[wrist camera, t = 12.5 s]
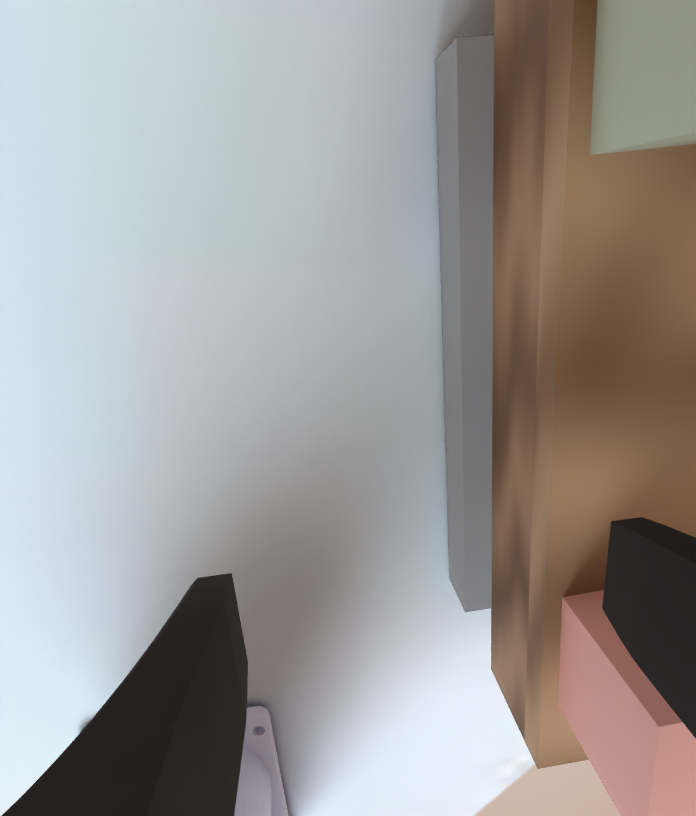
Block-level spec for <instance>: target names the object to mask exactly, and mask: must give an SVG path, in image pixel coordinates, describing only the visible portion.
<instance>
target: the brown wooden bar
mask: <svg viewBox="0 0 696 816" xmlns="http://www.w3.org/2000/svg"><path fill="white" fill-rule="evenodd" d="M596 21H597V0H494V138H493V372H492V605H491V670H492V672H493V674H494V676H495V678H496V680H497V683H498V685H499V687H500V689H501V691H502V693H503V695H504V698H505V700H506V702H507V704H508V706H509V708H510V710H511V713H512V715H513V717H514V719H515V721H516V723H517V725H518V728H519V730H520V732H521V734H522V736H523V738H524V740H525V743H526V745H527V747H528V749H529V751H530V753H531V755H532V758H533V760H534V762H535V764H536V766H537V768H538V769H539V768H545V767H550V766H556V765H561V764H566V763H572V762H578V761H583V760H589V759H588V757H587V755H586V753H585V752H584V750H583V748H582V746H581V745H580V743H579V741H578V739H577V737H576V736H575V734H574V732H573V730H572V729H571V727H570V725H569V723H568V722H567V720H566V718H565V716H564V715H563V713H562V711H561V709H560V708H559V706H558V692H559V667H560V642H561V617H562V597H567V596H573V595H578V594H584V593H590V592H596V591H602V590H604V585H605V576H606V566H607V556H608V546H609V537H610V527H611V521H616V520H623V519H631V518H638V517H643V518H646V519H649V520H652V521H655V522H658V523H660V524H663V525H666V526H668V527H671V528H673V529H676V530H678V531H681V532H683V533H686V534H688V535H691V536H693V537H695V538H696V144H691V145H681V146H671V147H662V148H652V149H643V150H633V151H624V152H614V153H605V154H595V155H590V144H591V123H592V103H593V82H594V62H595V41H596Z"/></svg>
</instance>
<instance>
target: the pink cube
mask: <svg viewBox="0 0 696 816" xmlns="http://www.w3.org/2000/svg"><path fill="white" fill-rule="evenodd" d="M603 595H604V590H602V591H596V592H590V593H584V594H578V595H573V596H567V597H562V617H561V642H560V667H559V692H558V706H559V708H560V709H561V711H562V713H563V715H564V716H565V718H566V720H567V722H568V723H569V725H570V727H571V729H572V730H573V732H574V734H575V736H576V737H577V739H578V741H579V743H580V745H581V746H582V748H583V750H584V752H585V753H586V755H587V757H588V759H589V760H590V762H591V764H592V766H593V767H594V769H595V771H596V773H597V774H598V776H599V778H600V779H601V781H602V783H603V785H604V786H605V788H606V790H607V792H608V794H609V795H610V797H611V799H612V801H613V802H614V804H615V806H616V808H617V809H618V811H619V813H620V815H621V816H696V739H695V737H694V736H693V735H692V733H691V732H690V731H689V730H688V728H687V727H686V726H685V725H684V723H683V722H682V721H681V720H680V718H679V717H678V716H677V715H676V713H675V712H674V711H673V710H672V708H671V707H670V706H669V705H668V703H667V702H666V701H665V700H664V698H663V697H662V696H661V695H660V693H659V692H658V691H657V689H656V688H655V687H654V686H653V684H652V683H651V682H650V680H649V679H648V678H647V677H646V675H645V674H644V673H643V672H642V670H641V669H640V668H639V666H638V665H637V664H636V662H635V661H634V660H633V658H632V657H631V655H630V654H629V652H628V651H627V649H626V647H625V646H624V644H623V643H622V641H621V640H620V638H619V636H618V635H617V633H616V631H615V630H614V628H613V626H612V625H611V623H610V621H609V619H608V618H607V616H606V614H605V613H604V611H603V609H602V605H603Z"/></svg>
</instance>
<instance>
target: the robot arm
mask: <svg viewBox="0 0 696 816" xmlns="http://www.w3.org/2000/svg"><path fill="white" fill-rule="evenodd" d="M602 609H603V611H604V613H605V614H606V616H607V618H608V619H609V621H610V623H611V625H612V626H613V628H614V630H615V631H616V633H617V635H618V636H619V638H620V640H621V641H622V643H623V644H624V646H625V647H626V649H627V651H628V652H629V654H630V655H631V657H632V658H633V660H634V661H635V662H636V664H637V665H638V666H639V668H640V669H641V670H642V672H643V673H644V674H645V675H646V677H647V678H648V679H649V680H650V682H651V683H652V684H653V686H654V687H655V688H656V689H657V691H658V692H659V693H660V695H661V696H662V697H663V698H664V700H665V701H666V702H667V703H668V705H669V706H670V707H671V708H672V710H673V711H674V712H675V713H676V715H677V716H678V717H679V718H680V720H681V721H682V722H683V723H684V725H685V726H686V727H687V728H688V730H689V731H690V732H691V733H692V735H693V736H694V737H695V739H696V538H695V537H693V536H691V535H688V534H686V533H683V532H681V531H678V530H676V529H673V528H671V527H668V526H666V525H663V524H660V523H658V522H655V521H652V520H649V519H646V518H643V517H638V518H631V519H623V520H616V521H611V527H610V537H609V546H608V556H607V566H606V576H605V585H604V595H603V605H602ZM247 675H248V661H247V656H246V650H245V645H244V639H243V634H242V628H241V622H240V617H239V611H238V606H237V600H236V595H235V589H234V584H233V578H232V573H230V574H223V575H216V576H208V577H201V578H197V579H196V580H195V582H194V583H193V584H192V585H191V587H190V588H189V590H188V591H187V593H186V594H185V595H184V597H183V598H182V600H181V601H180V603H179V604H178V606H177V607H176V609H175V610H174V612H173V613H172V615H171V616H170V618H169V619H168V620H167V622H166V623H165V625H164V626H163V628H162V629H161V630H160V632H159V633H158V635H157V636H156V638H155V639H154V640H153V642H152V643H151V644H150V646H149V647H148V648H147V650H146V651H145V652H144V654H143V655H142V657H141V658H140V659H139V661H138V662H137V663H136V665H135V666H134V667H133V669H132V670H131V671H130V673H129V674H128V675H127V677H126V678H125V679H124V680H123V682H122V683H121V684H120V685H119V687H118V688H117V689H116V690H115V692H114V693H113V694H112V695H111V696H110V698H109V699H108V700H107V701H106V703H105V704H104V705H103V706H102V708H101V709H100V710H99V711H98V712H97V714H96V715H95V716H94V717H93V719H92V720H91V721H90V722H89V723H88V725H87V726H86V727H85V728H84V729H83V730H82V732H81V733H80V734H79V735H78V736H77V737H76V738H75V740H74V741H73V742H72V743H71V744H70V745H69V746H68V747H67V749H66V750H65V751H64V752H63V753H62V754H61V755H60V756H59V757H58V759H57V760H56V761H55V762H54V763H53V764H52V765H51V766H50V767H49V768H48V769H47V770H46V771H45V772H44V774H43V775H42V776H41V777H40V778H39V779H38V780H37V781H36V782H35V783H34V784H33V785H32V786H31V787H30V788H29V789H28V790H27V791H26V792H25V794H24V795H23V796H22V797H21V798H20V799H19V800H18V801H16V802H15V803H14V804H13V805H12V806H11V807H10V808H9V809H8V810H7V811H6V812H5V813H4V814H3V815H2V816H288V810H287V805H286V800H285V794H284V789H283V784H282V778H281V773H280V767H279V762H278V757H277V751H276V746H275V741H274V735H273V730H272V725H271V719H270V714H269V711H268V710H267V709H266V708H265V707H262V706H254V707H247ZM257 726H262V727H257Z"/></svg>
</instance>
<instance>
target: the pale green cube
mask: <svg viewBox="0 0 696 816" xmlns="http://www.w3.org/2000/svg"><path fill="white" fill-rule="evenodd" d="M691 144H696V0H597V21H596V41H595V62H594V82H593V103H592V123H591V144H590V155H595V154H605V153H614V152H624V151H633V150H643V149H652V148H662V147H671V146H681V145H691Z"/></svg>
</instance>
